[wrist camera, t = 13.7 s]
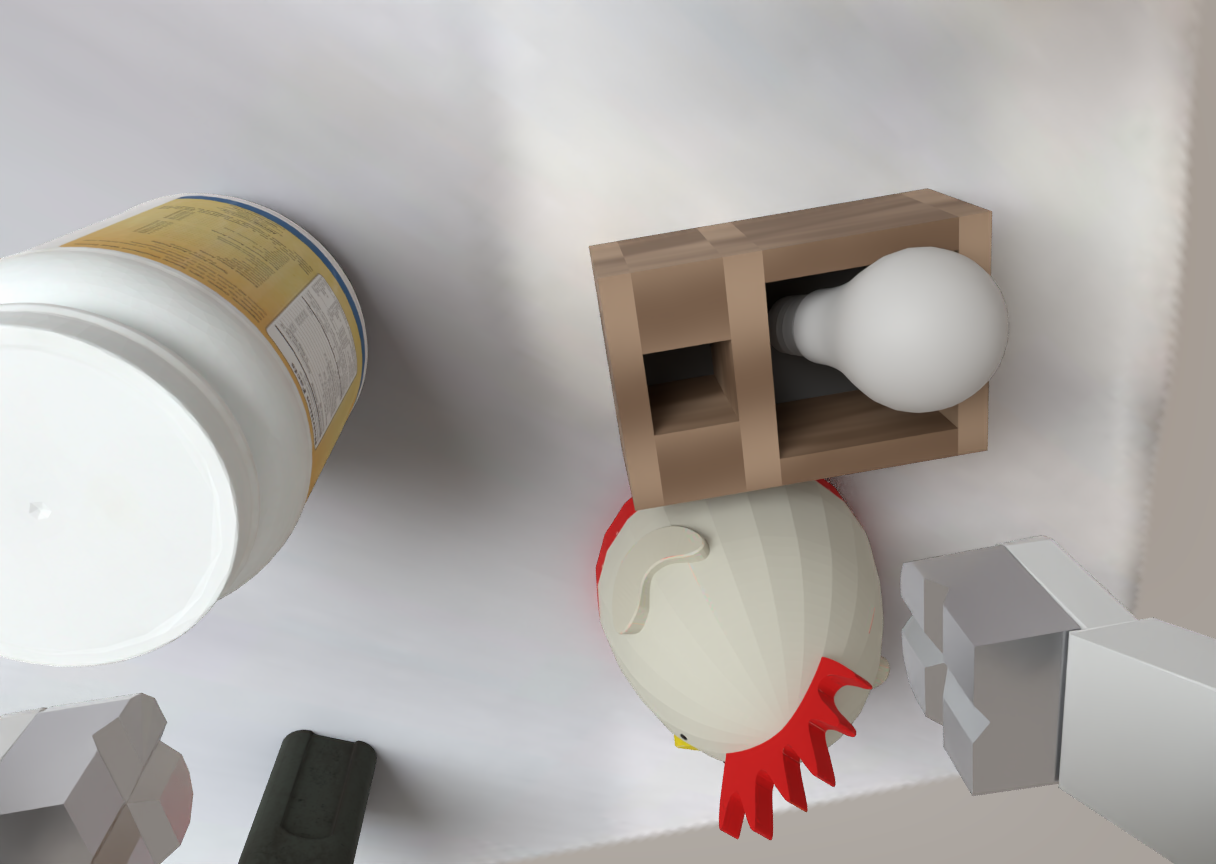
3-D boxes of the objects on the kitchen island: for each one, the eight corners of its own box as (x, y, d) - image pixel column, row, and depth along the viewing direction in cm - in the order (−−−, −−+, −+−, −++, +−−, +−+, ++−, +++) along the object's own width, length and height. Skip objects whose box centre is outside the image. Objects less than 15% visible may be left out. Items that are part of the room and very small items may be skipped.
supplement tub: (183, 492, 42) (-23, 749, 27) (26, 251, 37) (-336, 394, 22) (420, 400, 41) (351, 612, 26) (291, 141, 36) (109, 210, 21)
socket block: (588, 246, 39) (597, 278, 33) (927, 188, 39) (991, 211, 34) (622, 451, 43) (635, 511, 37) (929, 399, 43) (987, 450, 38)
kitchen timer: (541, 599, 46) (543, 833, 32) (714, 397, 42) (800, 565, 29) (742, 720, 50) (820, 974, 36) (915, 546, 46) (1075, 755, 33)
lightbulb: (845, 325, 42) (1066, 334, 33) (770, 420, 41) (980, 458, 31) (780, 225, 39) (1002, 204, 30) (697, 322, 38) (904, 332, 28)
